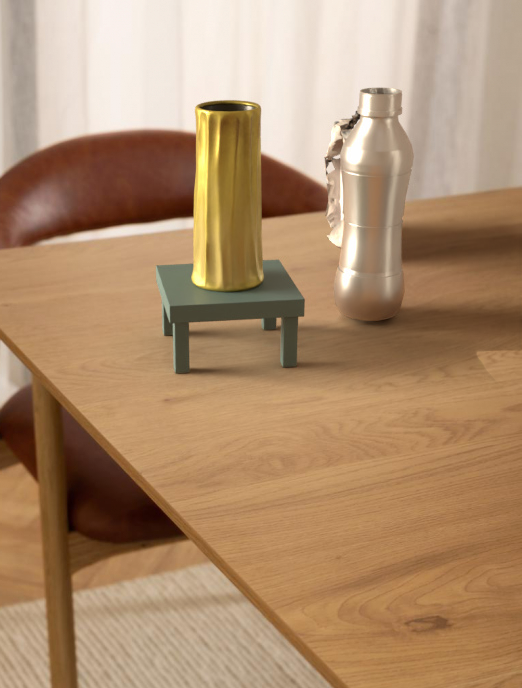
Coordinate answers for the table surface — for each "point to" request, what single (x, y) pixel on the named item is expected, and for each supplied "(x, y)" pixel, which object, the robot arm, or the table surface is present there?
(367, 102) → the silver water bottle
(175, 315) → the stool
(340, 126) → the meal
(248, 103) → the vase
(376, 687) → the table surface
